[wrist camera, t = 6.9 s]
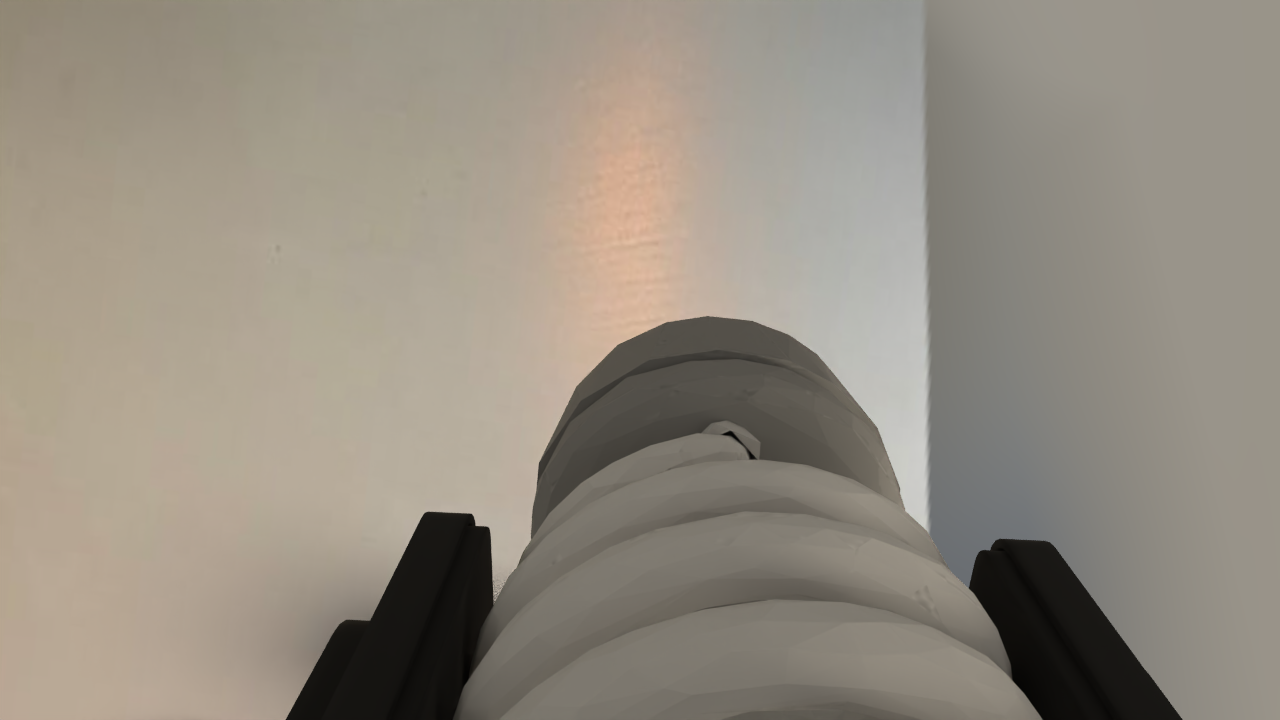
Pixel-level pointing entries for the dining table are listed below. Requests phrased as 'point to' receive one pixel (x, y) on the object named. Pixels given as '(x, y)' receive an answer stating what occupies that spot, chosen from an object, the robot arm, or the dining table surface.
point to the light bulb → (729, 555)
